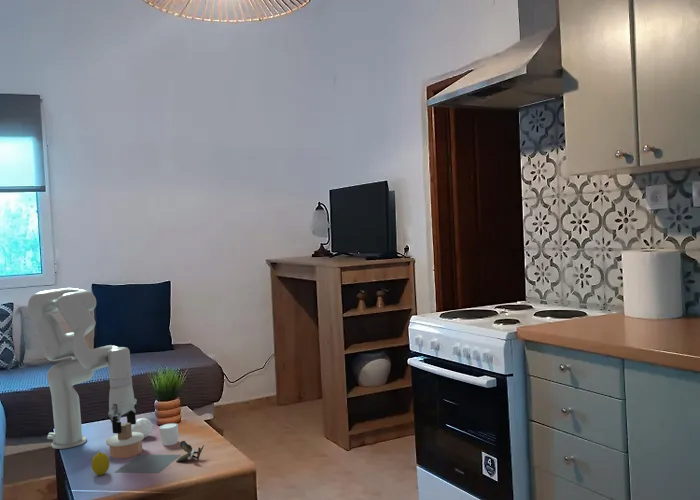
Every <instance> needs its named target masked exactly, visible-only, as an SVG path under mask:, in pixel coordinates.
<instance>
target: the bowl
mask: <svg viewBox="0 0 700 500" xmlns="http://www.w3.org/2000/svg"><path fill="white" fill-rule="evenodd" d="M142 452H143V440H141V441H139V442H137V443H135V444H131V445H127V446H118V447H113V446H109V455H110V456H109V457H111V458H113V459H126V458H132V457H134V456H135V457H136V456H138V455H140V453H142Z"/></svg>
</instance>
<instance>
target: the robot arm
mask: <svg viewBox="0 0 700 500" xmlns="http://www.w3.org/2000/svg"><path fill="white" fill-rule="evenodd" d="M96 307H97V299H96V296H95V294H93V293H92V292H91V291H89V290H87V289H81V288H80V289H79V288H73V287H64V288H63V287H62V288H57V289H48V290H43V291H39V292H36V293H33V294H32V295H31V296H30V298H29V299H28V302H27V311H28V315H29V317H30V319H31V322H32V323H33V325H34V327H35V328H36V331H37V335H38V338H39V342H40V345H41V349H42V351H43V354H44V357H45V358H46V359H47V360H48V361H51V362H55V361H60V360H64V359H69V358H71V360H67V361H66V360H65V361H63V362H59V363H56V364H54V365H52V366H51V367H50V368H49V369H48V371H47V373H46V379H47V382H48V386H49V390H50V394H51V405H52V414H53V415H52V416H53V425H54V426H53V427H54V431H53V432H48V434H47V436H46V438H47V439H48V440H52V442H51V444H50V446H51V447H52V449H57V450H65V449H71V448H75V447H79V446H81V445H84V444H85V443H86V442H87V440H88V438H87V436H86V435H83V431H82V430H83V429H82V417H81V405H80V396H79V394H78V392H77V390H75V388H74V386H75V385H79V384H81V383H85V382H87V381H90V380H91V379H92V378H93V377H94V374H95V371H97V370H101V369H103V368H108V375H109V376H108V377H109V387H110V388H109V395H108V413H107V415H108V417H109V420H110V423H111V425H112V434H118V433H122V428H121V423H122V421H121V419H122V416H123V415H125V414H126V423H131V425H132V424H136V420H137V419H136V412H137V410H136V407H137V401H138V400H137V398H135V393H134V389H133V377H132V375H133V374H132V365H131V362H132V361H131V352H130V349H129V348H128V347H127V346H126V347H125V346H118V345H112V344H109V345H104V346H99V347H96V348H90V347H89V346H88V345H87V342H86V341H87V340H86V339H85V336H86V335H88V334H89V333H90V332H91V331H92V330H93V329H95V326H96V320H95V319H94V317H93V315H92V314H91V311H94V309H96ZM52 312H53V313H54V312H59V313H60V314H61V316H62V317H63V319H64V320H65V322H66V323H67V325H68V326H69V328H70V329H71V331H70V332H67V333H64V331H63V328H62V326H61V322H60V320H58V319H57V317H55V316H54V315H53V314H52Z"/></svg>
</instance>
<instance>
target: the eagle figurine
mask: <svg viewBox="0 0 700 500" xmlns="http://www.w3.org/2000/svg"><path fill="white" fill-rule="evenodd" d="M179 446H180V448H181V449H182V450H183V451H184V452H186V454H182V455H180V456H179V457H178V458H177V459H176V461H175V462H176V463H179V462H182V461H186V460H188V459H189V458H190V459H196V460H197V461H199V460H200V456H201V454H202V452H203V449H204V446H205V445H202V446H201V447H198V448H197V449H198V450H197V451H196V450H195V448H193V447H192V446H191V445H190V444H189V443H187V442H186V440H182V441H181V442H180V444H179ZM195 454H196V455H195Z"/></svg>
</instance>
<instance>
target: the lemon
mask: <svg viewBox="0 0 700 500" xmlns="http://www.w3.org/2000/svg"><path fill="white" fill-rule="evenodd" d="M109 468H110V459H109V456H108V455H107V454H106V453H105V452H101V451H98V452H97V453H96V454H95V455H93V457H92V459H91V470H92V472H93V473H94V474H95V475H98V476H103V475H104V474H106V473H107V472H108V470H109Z"/></svg>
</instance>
